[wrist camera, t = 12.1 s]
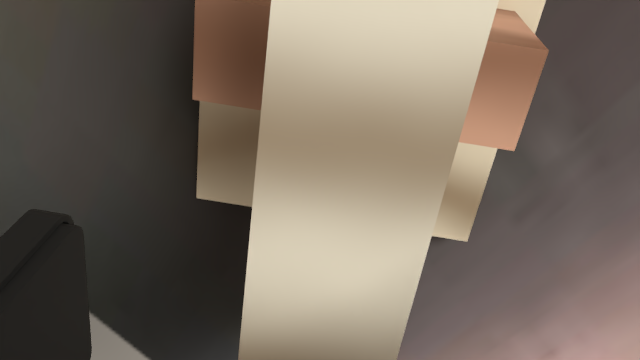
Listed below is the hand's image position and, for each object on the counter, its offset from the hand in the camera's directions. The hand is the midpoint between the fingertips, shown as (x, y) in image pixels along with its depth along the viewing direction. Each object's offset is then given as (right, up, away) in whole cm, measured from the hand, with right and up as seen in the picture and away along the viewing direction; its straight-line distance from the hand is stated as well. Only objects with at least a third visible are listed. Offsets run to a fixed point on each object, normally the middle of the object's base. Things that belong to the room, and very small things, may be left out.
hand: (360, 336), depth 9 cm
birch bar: (+1, +6, +9) cm, 11 cm away
